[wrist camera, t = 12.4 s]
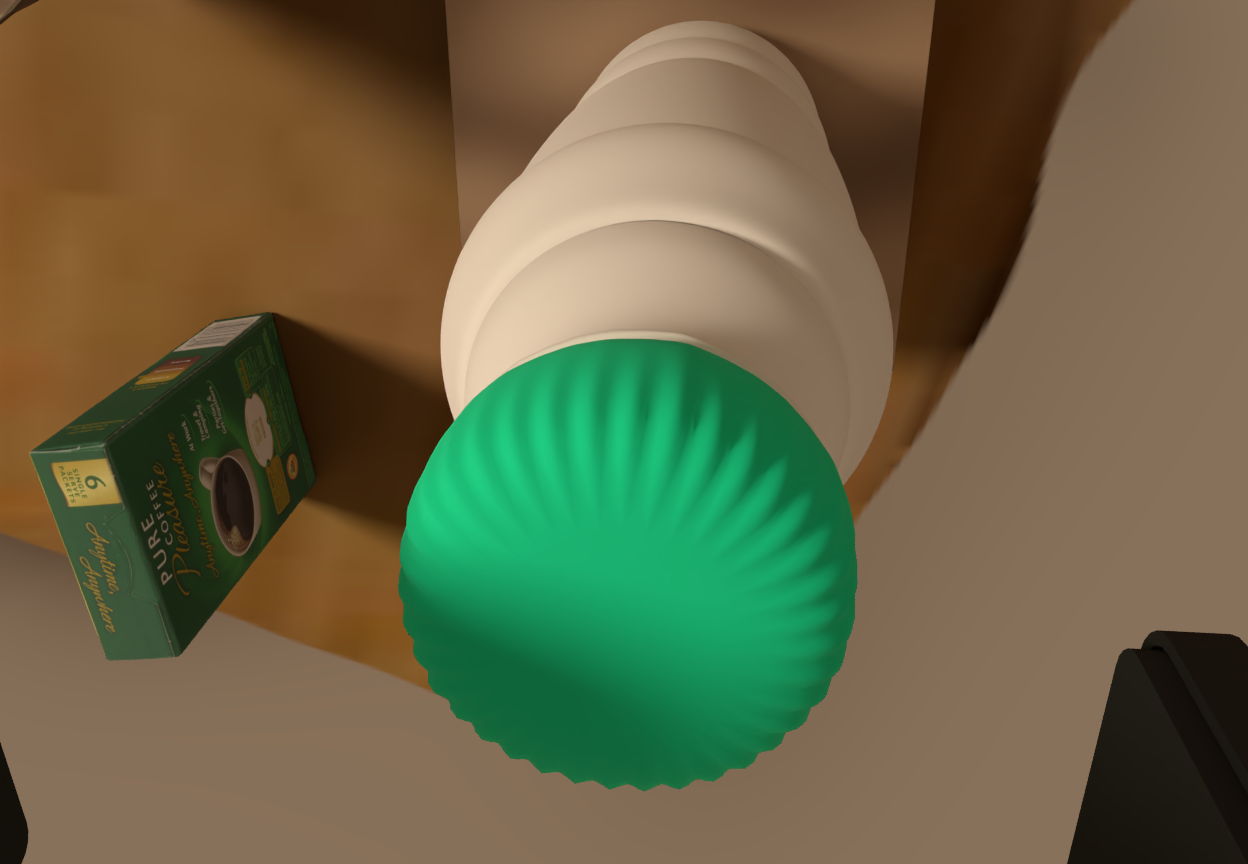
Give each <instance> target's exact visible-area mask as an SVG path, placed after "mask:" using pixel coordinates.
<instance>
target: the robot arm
mask: <svg viewBox="0 0 1248 864" xmlns="http://www.w3.org/2000/svg"><path fill="white" fill-rule="evenodd" d="M27 843H28V827H27V822H26V819H25V816H24V813H23V810H22V807H21V804H20V801H19V798H18V795H17V792H16V789H15V786H14V783H13V780H12V777H11V774H10V770H9V767H8V765H7V761H6V758H5V755H4V752H3V749H2V746H1V743H0V864H21V863H22V861H23V858H24V856H25V853H26V848H27ZM1067 864H1248V646H1247V645H1246V644H1245V643H1244V642H1243V641H1242V640H1241V639H1240V638H1239V637H1237V636H1234V635H1231V634H1216V633H1195V632H1177V631H1154V632H1152V633H1150V634H1149V635H1148V636H1147V638H1146V639H1145V640H1144V642H1143V645H1142V648H1141V649H1129V648H1128V649H1126V650H1123V652H1122V653H1121V654H1120V656H1119V658H1118V661H1117V664H1116V667H1115V671H1114V675H1113V680H1112V684H1111V688H1110V692H1109V696H1108V700H1107V704H1106V708H1105V712H1104V716H1103V720H1102V724H1101V728H1100V732H1099V736H1098V740H1097V745H1096V749H1095V753H1094V757H1093V761H1092V765H1091V769H1090V773H1089V777H1088V781H1087V785H1086V789H1085V794H1084V797H1083V801H1082V806H1081V810H1080V814H1079V818H1078V822H1077V826H1076V830H1075V834H1074V838H1073V842H1072V846H1071V850H1070V854H1069V859H1068V863H1067Z"/></svg>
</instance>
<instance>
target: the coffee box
mask: <svg viewBox="0 0 1248 864" xmlns="http://www.w3.org/2000/svg"><path fill="white" fill-rule="evenodd" d="M30 457H31V459H32V462H33V465H34V467H35V470H36V472H37V475H38V478H39V480H40V482H41V485H42V488H43V490H44V493H45V496H46V498H47V501H48V504H49V506H50V509H51V511H52V514H53V517H54V519H55V522H56V525H57V528H58V530H59V533H60V536H61V538H62V541H63V544H64V546H65V549H66V552H67V554H68V557H69V559H70V562H71V565H72V567H73V570H74V573H75V576H76V578H77V581H78V584H79V586H80V589H81V592H82V595H83V597H84V600H85V603H86V605H87V608H88V610H89V613H90V616H91V619H92V621H93V624H94V626H95V629H96V631H97V634H98V637H99V639H100V642H101V644H102V647H103V649H104V653H105V656H106V658H107V660H137V659H155V658H169V657H178V656H179V655H181V654H182V653H183V651H184V650H185V649H186V648H187V646H188V645H189V644H190V642H191V641H192V640H193V639H194V637H195V636H196V635H197V633H198V632H199V630H200V629H201V628H202V627H203V626H204V624H205V623H206V622H207V620H208V619H209V618H210V617H211V616H212V614H213V613H214V611H215V610H216V609H217V608H218V607H219V605H220V604H221V603H222V601H223V600H224V599H225V597H226V596H227V595H228V594H229V592H230V591H231V590H232V588H233V587H234V586H235V585H236V583H237V582H238V581H239V580H240V578H241V577H242V576H243V575H244V573H245V572H246V571H247V569H248V568H249V567H250V566H251V564H252V563H253V562H254V560H255V559H256V558H257V557H258V555H259V554H260V553H261V552H262V550H263V549H264V548H265V546H266V545H267V544H268V542H269V541H270V540H271V539H272V537H273V536H274V535H275V533H276V532H277V531H278V530H279V528H280V527H281V526H282V524H283V523H284V522H285V521H286V519H287V518H288V517H289V515H290V514H291V513H292V512H293V510H294V509H295V508H296V506H297V505H298V504H299V503H300V501H301V500H302V499H303V498H304V496H305V495H306V494H307V492H308V491H309V490H310V489H311V487H312V486H313V485H314V483H315V482H316V480H317V479H316V476H315V472H314V469H313V465H312V461H311V457H310V451H309V446H308V442H307V439H306V436H305V435H304V432H303V428H302V425H301V421H300V418H299V414H298V410H297V406H296V402H295V398H294V394H293V390H292V387H291V383H290V379H289V375H288V372H287V368H286V363H285V359H284V355H283V351H282V348H281V344H280V342H279V338H278V334H277V330H276V327H275V323H274V319H273V315H272V314H271V313H270V312H266V313H260V314H255V315H249V316H242V317H235V318H230V319H223V320H215V321H214V322H213V323H211V324H209V325H208V326H207V327H205V328H204V329H201V331H200V332H198V333H197V334H195V335H194V336H192V337H191V338H190V339H188V340H187V341H185V342H184V343H182V344H181V345H180V346H178V347H177V348H175V349H174V350H173V351H171V352H170V353H169V354H167V355H166V356H164V357H163V358H162V359H160V360H159V361H157V362H156V363H155V364H153V365H152V366H150V367H149V368H148V369H146V370H145V371H143V372H142V373H140V374H139V375H138V376H136V377H135V378H133V379H132V380H130V381H129V382H127V383H126V384H125V385H123V386H122V387H120V388H119V389H118V390H116V391H115V392H113V393H112V394H111V395H109V396H108V397H106V398H105V399H104V400H102V401H101V402H99V403H98V404H96V405H95V406H94V407H92V408H91V409H89V410H88V411H86V412H85V413H84V414H82V415H81V416H79V417H78V418H77V419H75V420H74V421H73V422H71V423H70V424H68V425H67V426H66V427H64V428H63V429H61V430H60V431H59V432H57V433H56V434H55V435H53V436H52V437H50V438H49V439H47V440H46V441H45V442H43V443H42V444H40V445H39V446H37V447H36V448H35V449H33V450H32V451H31V452H30Z"/></svg>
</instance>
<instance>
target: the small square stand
mask: <svg viewBox="0 0 1248 864" xmlns="http://www.w3.org/2000/svg"><path fill="white" fill-rule="evenodd" d="M445 7H446V22H447V37H448V53H449V68H450V83H451V98H452V113H453V128H454V144H455V159H456V174H457V189H458V204H459V219H460V235H461V250H462V249H463V247H464V245H465V243H466V242H467V240H468V238H469V236H470V234H471V233H472V231H473V229H474V228H475V226H476V225H477V223H478V222H479V220H480V219H481V217H482V216H483V215H484V213H485V212H486V211H487V209H488V208H489V207H490V206H491V204H492V203H493V202H494V201H495V200H496V199H497V197H498V196H499V195H500V194H501V193H502V192H503V191H504V190H505V189H506V188H507V187H508V186H509V185H510V184H511V183H512V182H513V181H515V180H516V179H517V178H518V177H519V176H520V175H521V174H522V173H523V171H524V170H525V168H526V167H527V166H528V164H529V163H530V161H531V160H532V158H533V157H534V155H535V154H536V153H537V152H538V150H539V149H540V148H541V146H542V145H543V144H544V143H545V141H546V140H547V139H548V137H549V136H550V135H551V134H552V133H553V132H554V130H555V129H556V128H557V127H558V126H559V125H560V124H561V123H562V122H563V120H564V119H565V118H566V117H567V116H568V115H569V114H570V113H571V112H572V111H573V110H574V109H575V108H576V106H577V105H578V103H579V102H580V100H581V99H582V97H583V96H584V95H585V93H586V92H587V91H588V90H589V88H590V87H591V86H592V85H593V84H594V83H595V82H596V80H597V79H598V77H599V76H600V74H601V73H602V72H603V70H604V69H605V68H606V66H607V65H608V64H609V63H610V62H611V61H612V60H613V59H614V58H615V57H616V56H617V55H618V54H619V53H620V52H621V51H622V50H623V49H625V48H626V47H627V46H628V45H630V44H631V43H633V42H634V41H636V40H637V39H639V38H640V37H642V36H644V35H646V34H648V33H650V32H652V31H654V30H657V29H659V28H662V27H665V26H668V25H672V24H676V23H681V22H688V21H715V22H721V23H727V24H731V25H734V26H738V27H740V28H743V29H746V30H748V31H751V32H753V33H755V34H756V35H758V36H760V37H762V38H763V39H765V40H767V41H768V42H770V43H771V44H772V45H773V46H775V47H776V48H777V49H778V50H779V51H781V52H782V53H783V54H784V55H785V56H786V57H787V58H788V59H789V60H790V62H791V63H792V64H793V65H794V66H795V68H796V69H797V70H798V72H799V73H800V75H801V76H802V78H803V80H804V81H805V83H806V85H807V87H808V89H809V91H810V93H811V95H812V98H813V100H814V103H815V106H816V109H817V113H818V117H819V119H820V121H821V124H822V126H823V129H824V132H825V135H826V138H827V142H828V146H829V150H830V152H831V154H832V156H833V158H834V160H835V162H836V164H837V166H838V168H839V171H840V173H841V175H842V178H843V180H844V183H845V185H846V188H847V191H848V194H849V196H850V199H851V202H852V205H853V208H854V212H855V215H856V219H857V222H858V226H859V229H860V231H861V232H862V234H863V236H864V238H865V239H866V241H867V243H868V245H869V247H870V249H871V251H872V253H873V255H874V258H875V260H876V262H877V265H878V267H879V270H880V273H881V276H882V278H883V282H884V285H885V288H886V292H887V296H888V301H889V306H890V312H891V318H892V327H893V365H892V371H893V368H894V359H895V351H896V342H897V333H898V324H899V315H900V307H901V298H902V289H903V280H904V271H905V263H906V254H907V245H908V236H909V227H910V219H911V210H912V201H913V192H914V183H915V175H916V166H917V157H918V148H919V139H920V131H921V122H922V113H923V104H924V95H925V87H926V78H927V69H928V60H929V51H930V43H931V34H932V25H933V16H934V7H935V0H445Z"/></svg>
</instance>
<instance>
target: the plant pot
mask: <svg viewBox="0 0 1248 864" xmlns="http://www.w3.org/2000/svg"><path fill="white" fill-rule="evenodd" d="M37 1H39V0H0V24H2V23H3V22H4V21H5V20H7V19H8V18H9V17H10V16H12V15H13V14H14V13H16V12H18V11H20V10H22V9H24V8H25V7H27V6H29V5H31V4H33V3H35V2H37Z"/></svg>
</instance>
